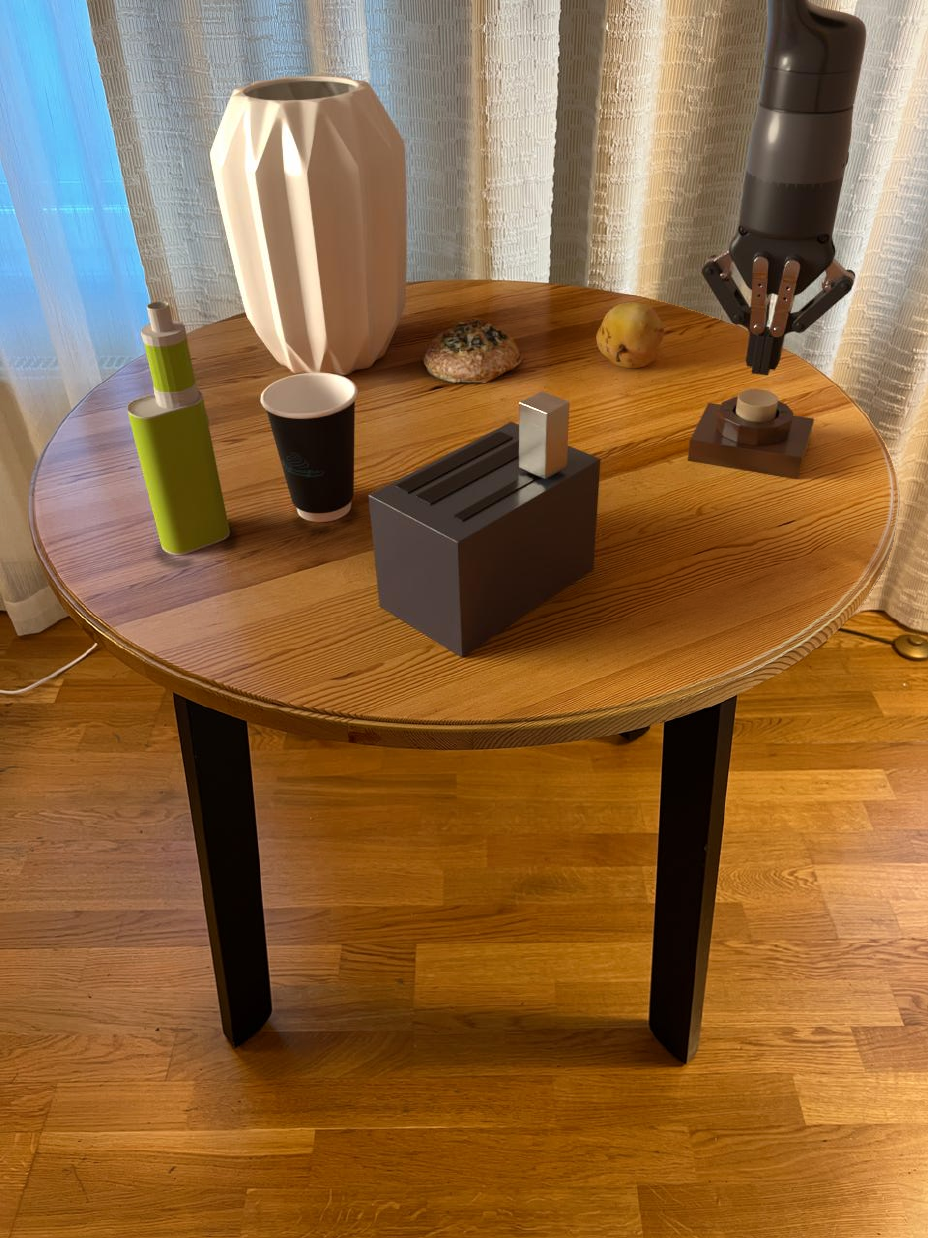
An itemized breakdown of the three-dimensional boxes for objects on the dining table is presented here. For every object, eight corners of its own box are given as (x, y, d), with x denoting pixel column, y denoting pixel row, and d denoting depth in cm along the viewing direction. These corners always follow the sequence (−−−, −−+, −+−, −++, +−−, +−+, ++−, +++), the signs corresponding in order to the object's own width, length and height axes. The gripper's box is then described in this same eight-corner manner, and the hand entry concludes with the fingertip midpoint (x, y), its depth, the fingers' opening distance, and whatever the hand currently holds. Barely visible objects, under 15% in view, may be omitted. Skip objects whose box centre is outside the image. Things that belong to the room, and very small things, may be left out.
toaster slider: (545, 479, 73) (547, 413, 70) (518, 467, 74) (518, 401, 71) (567, 467, 74) (569, 401, 71) (540, 455, 75) (541, 390, 72)
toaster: (462, 658, 73) (457, 541, 67) (379, 606, 78) (368, 493, 72) (593, 569, 82) (600, 457, 75) (511, 527, 87) (511, 419, 80)
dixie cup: (281, 537, 87) (261, 419, 80) (277, 490, 93) (258, 377, 86) (374, 525, 88) (362, 408, 81) (363, 479, 94) (352, 367, 87)
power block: (810, 439, 97) (818, 400, 95) (797, 479, 92) (805, 439, 89) (705, 422, 101) (710, 385, 98) (687, 460, 95) (692, 421, 92)
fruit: (651, 336, 103) (686, 301, 110) (591, 309, 105) (629, 276, 112) (631, 393, 108) (665, 356, 115) (574, 366, 110) (611, 331, 117)
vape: (238, 534, 87) (193, 305, 75) (172, 559, 84) (115, 326, 72) (219, 516, 89) (172, 291, 77) (154, 539, 87) (96, 310, 74)
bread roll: (451, 335, 119) (454, 294, 115) (536, 364, 115) (542, 323, 112) (401, 375, 111) (403, 334, 108) (491, 408, 108) (496, 366, 105)
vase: (215, 351, 118) (166, 87, 101) (359, 309, 126) (335, 61, 110) (298, 410, 105) (257, 120, 88) (451, 359, 114) (440, 87, 97)
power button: (778, 409, 95) (781, 392, 94) (771, 426, 92) (775, 408, 91) (739, 403, 96) (741, 386, 95) (731, 420, 93) (734, 402, 92)
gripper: (701, 172, 80) (678, 377, 91) (878, 186, 76) (832, 400, 87) (721, 148, 85) (697, 345, 96) (887, 160, 81) (843, 364, 92)
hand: (761, 370), depth 91 cm, fingers closed
